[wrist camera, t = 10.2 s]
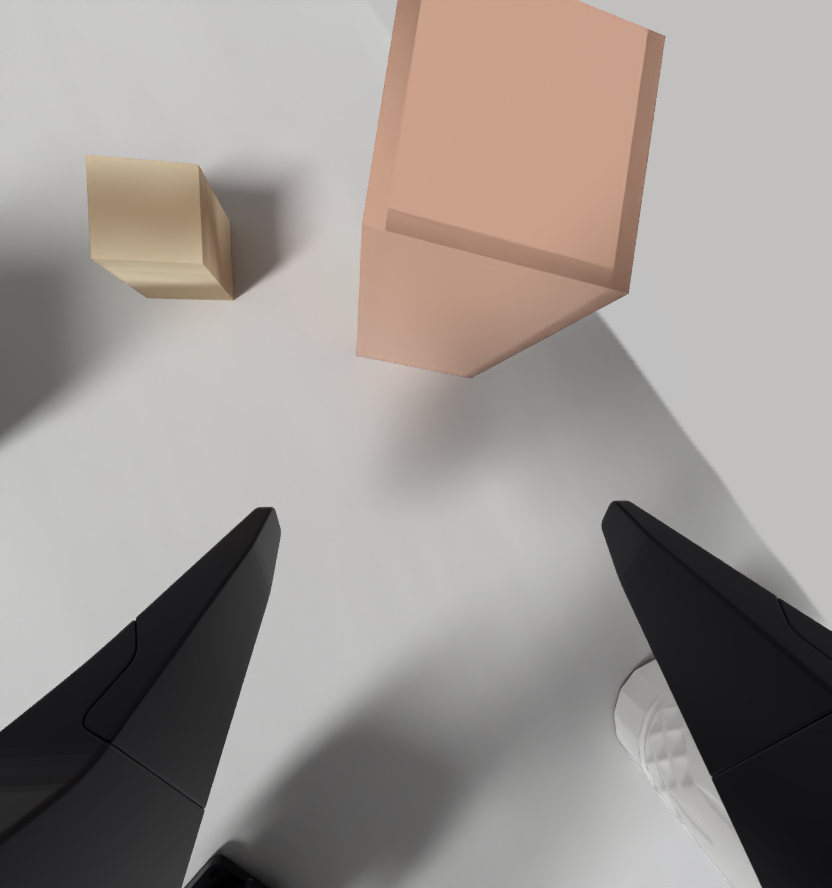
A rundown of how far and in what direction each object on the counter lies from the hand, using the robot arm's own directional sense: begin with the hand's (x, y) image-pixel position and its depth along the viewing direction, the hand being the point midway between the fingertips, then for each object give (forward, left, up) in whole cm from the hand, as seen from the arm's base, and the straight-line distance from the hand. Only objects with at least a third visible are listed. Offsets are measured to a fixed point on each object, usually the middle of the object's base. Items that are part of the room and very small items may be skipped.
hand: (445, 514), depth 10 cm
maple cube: (+1, +15, -11) cm, 19 cm away
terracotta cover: (+8, +5, -10) cm, 14 cm away
